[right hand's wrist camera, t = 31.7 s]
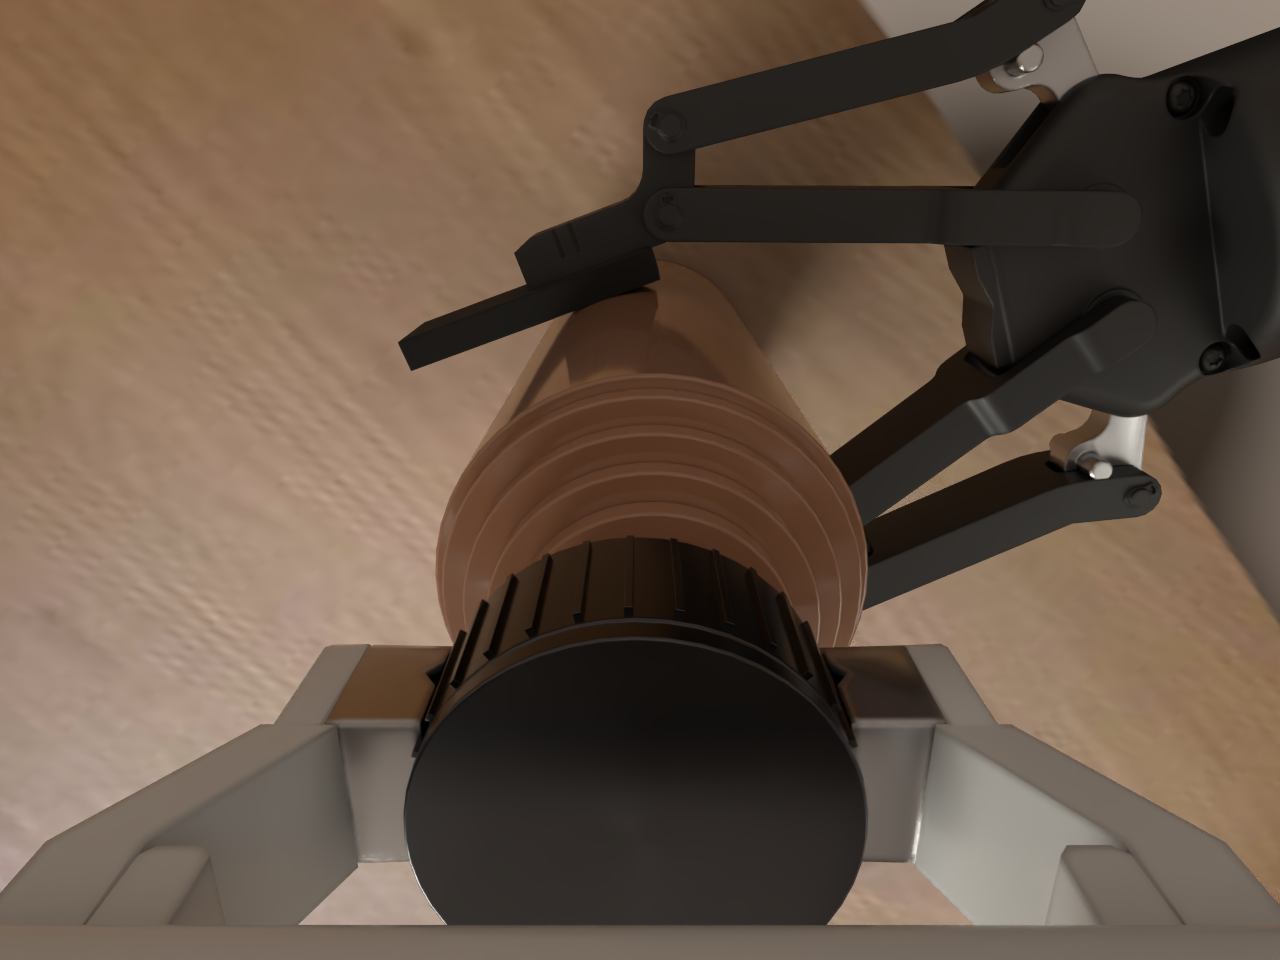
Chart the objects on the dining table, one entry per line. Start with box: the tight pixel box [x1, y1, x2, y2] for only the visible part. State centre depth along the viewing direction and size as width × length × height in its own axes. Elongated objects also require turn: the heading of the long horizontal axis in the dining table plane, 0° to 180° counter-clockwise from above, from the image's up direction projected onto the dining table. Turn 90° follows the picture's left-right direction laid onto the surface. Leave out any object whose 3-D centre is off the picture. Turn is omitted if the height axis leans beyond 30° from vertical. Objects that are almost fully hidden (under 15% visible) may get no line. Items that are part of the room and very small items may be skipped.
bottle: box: [436, 260, 868, 648], centre depth 19 cm, size 7×7×21 cm
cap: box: [403, 535, 868, 925], centre depth 9 cm, size 5×5×2 cm
